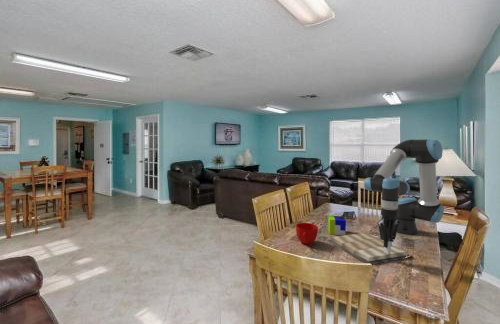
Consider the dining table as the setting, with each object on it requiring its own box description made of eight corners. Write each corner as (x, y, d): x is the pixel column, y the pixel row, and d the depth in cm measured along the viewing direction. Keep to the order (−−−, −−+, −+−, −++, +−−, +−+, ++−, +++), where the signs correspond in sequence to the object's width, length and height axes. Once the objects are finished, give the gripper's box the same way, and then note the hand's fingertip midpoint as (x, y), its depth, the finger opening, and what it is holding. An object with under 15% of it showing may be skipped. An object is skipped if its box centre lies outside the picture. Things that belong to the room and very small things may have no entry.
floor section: (366, 235, 166) (366, 232, 166) (412, 257, 135) (413, 253, 135) (327, 240, 157) (327, 236, 157) (367, 265, 126) (367, 260, 125)
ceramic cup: (292, 247, 146) (292, 230, 146) (297, 237, 162) (298, 221, 161) (315, 250, 142) (315, 233, 141) (318, 240, 158) (319, 224, 157)
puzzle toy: (345, 235, 166) (345, 220, 165) (329, 234, 168) (329, 219, 167) (342, 230, 176) (343, 216, 175) (327, 229, 178) (328, 215, 177)
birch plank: (392, 248, 145) (392, 245, 145) (407, 254, 136) (407, 251, 136) (354, 254, 137) (354, 250, 137) (368, 261, 127) (368, 257, 127)
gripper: (385, 210, 125) (383, 257, 127) (405, 209, 129) (403, 254, 131) (373, 207, 132) (371, 251, 134) (393, 206, 136) (390, 249, 138)
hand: (387, 253), depth 132 cm, fingers closed
